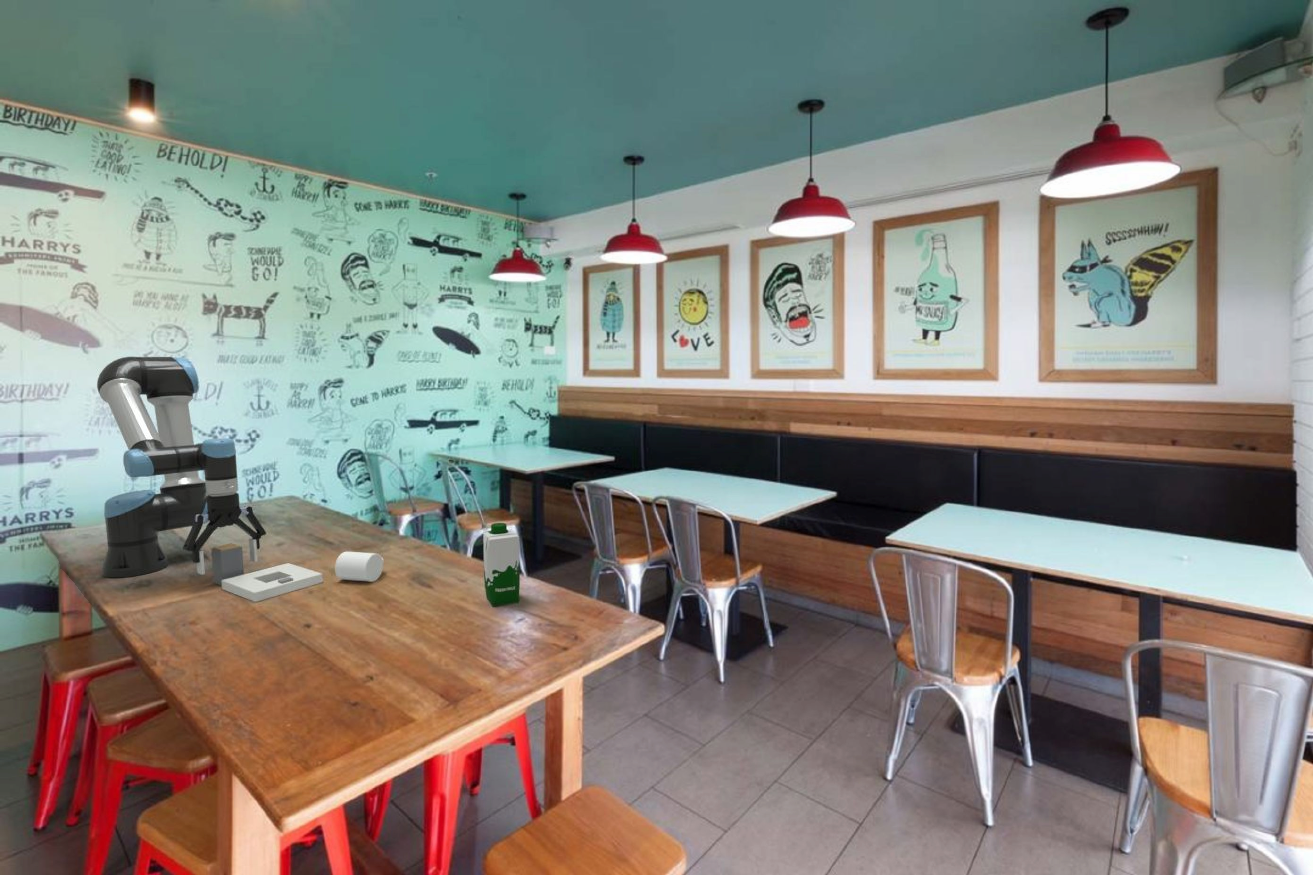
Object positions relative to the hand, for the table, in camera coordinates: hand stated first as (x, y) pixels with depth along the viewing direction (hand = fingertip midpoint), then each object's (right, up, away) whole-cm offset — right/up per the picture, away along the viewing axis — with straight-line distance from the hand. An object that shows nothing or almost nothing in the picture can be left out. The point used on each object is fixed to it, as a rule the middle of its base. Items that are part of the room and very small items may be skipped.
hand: (228, 567), depth 178 cm
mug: (+36, -4, +5) cm, 37 cm away
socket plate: (+14, -5, -2) cm, 15 cm away
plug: (0, -4, +1) cm, 4 cm away
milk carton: (+81, -6, -13) cm, 83 cm away
